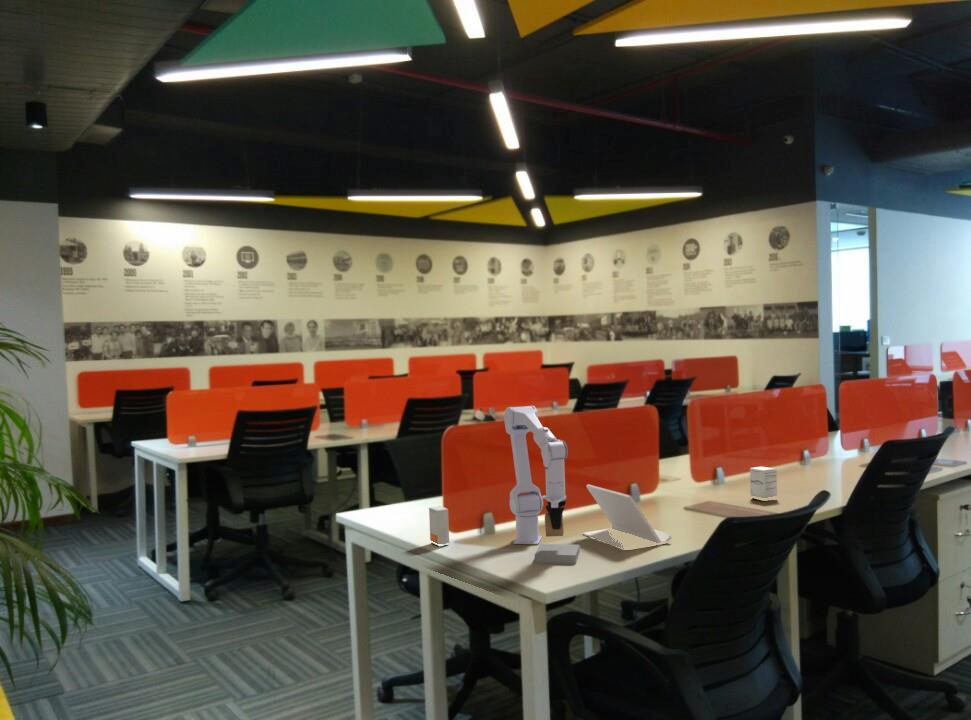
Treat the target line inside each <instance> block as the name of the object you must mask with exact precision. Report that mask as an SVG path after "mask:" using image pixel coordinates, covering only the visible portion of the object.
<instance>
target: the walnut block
mask: <svg viewBox="0 0 971 720" xmlns="http://www.w3.org/2000/svg"><path fill="white" fill-rule="evenodd" d="M544 514H545V515H544V527H545V528H544V529H545V537H549V538H550V537H564V532H565V531H564V517H563V516H564V515H563V514H562V518H561V526H560V529H553V528H552V525H551V520H550V516H549V513H548V512H545V513H544Z"/></svg>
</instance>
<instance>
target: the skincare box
mask: <svg viewBox="0 0 971 720" xmlns="http://www.w3.org/2000/svg"><path fill="white" fill-rule="evenodd" d="M428 514H429V515H428V516H429V541H430V540H431V541H433V542H435V543H437V544H446V543H449V544H450V529H449V528H450V527H449V526H450V525H449V523H450V522H449V509H448V508H446V507H445V506H440V505H438V506H430V507H428Z"/></svg>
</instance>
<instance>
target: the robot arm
mask: <svg viewBox="0 0 971 720" xmlns="http://www.w3.org/2000/svg"><path fill="white" fill-rule="evenodd" d="M503 420H504V426H505V428H504V429H505V432H506V434H508V435H510V441H511V450H512V455H513V456H512V457H513V458H512V459H513V465H514V472H515V480H516V481H515V482H516V485H515V486H514V487H513V488H512V489H511V491H510V492H509V509H510V511H511V513H512V514H513V515H515V534H516V537H515V540H514V541H513V545H539V544H540V541H541V540H542V538H543V536H542V535H540V531H539V528H540V527H539V526H540V525H539V515H540V514H541V513H540V512H542V510H543V507H544V500H546V501H547V502H546V503H547V504H546V505H545V510H546V511H547V513H549V516H550V520H551V525H552V528H553V529H560V526H561V518H562V515H563V513H564V510H565V508H566V506H565V505H566V503H567V500H566V499H567V495H566V475H565V473H566V472H565V460H567V458H568V454H569V453H568V451H569V450H568V445H567V443H566V442H565V440H561V439H557V437H556V436H555V435H554V434H553V433H552V431H551V430H550V428H548V427H545V426H543V425H542V424H541V422H540V420H539V414H538V410H537V408H536V406H534V405H532V404H531V405H527V406H507V407H506V409H504V414H503ZM530 432H531V433H532V434H533V437H532V438H533V441H534V442H535V443H536V444H537V446H538V448H539V449H540V454H541V458H542V461H543V462H542V464H543V467H545V468H544V469H545V495H542V494H541V489H540V488H539V487H538V486H536V485H535V484H534V483H533V482H532V481H533V480H532V475H531V467H530V460H529V452H528V444H527V438H526V436H527V434H528V433H530Z"/></svg>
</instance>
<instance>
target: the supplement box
mask: <svg viewBox="0 0 971 720" xmlns="http://www.w3.org/2000/svg"><path fill="white" fill-rule="evenodd" d="M777 474H778V471H777V468H773V467H766V466H755V467H750V468H749V483H750V484H749V485H750V487H749V488H750V489H749V491H750V495H751V496H756V497H761V498H768V497H773V496H777V497H778V477H777V476H778V475H777ZM751 496H750V497H751Z"/></svg>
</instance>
